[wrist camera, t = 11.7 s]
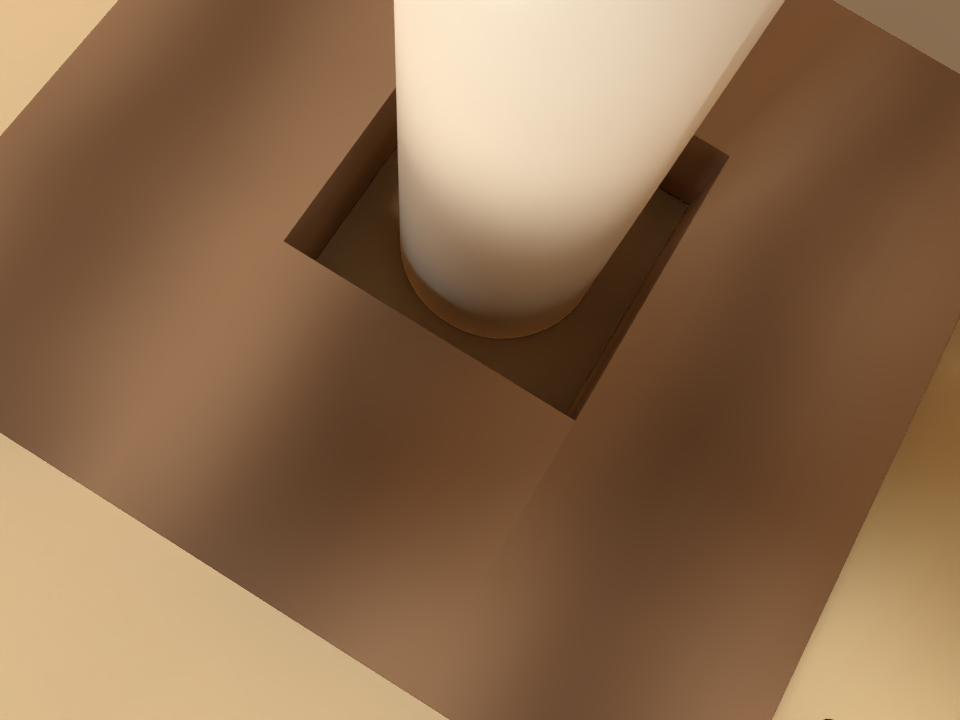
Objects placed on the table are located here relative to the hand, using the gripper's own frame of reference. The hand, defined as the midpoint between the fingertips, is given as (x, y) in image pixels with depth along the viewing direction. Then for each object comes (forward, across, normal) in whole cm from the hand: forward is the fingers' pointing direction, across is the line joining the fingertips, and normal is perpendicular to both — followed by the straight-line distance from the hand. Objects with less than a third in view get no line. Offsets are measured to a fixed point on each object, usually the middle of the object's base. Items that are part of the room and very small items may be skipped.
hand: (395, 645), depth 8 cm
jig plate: (+12, 0, 0) cm, 12 cm away
